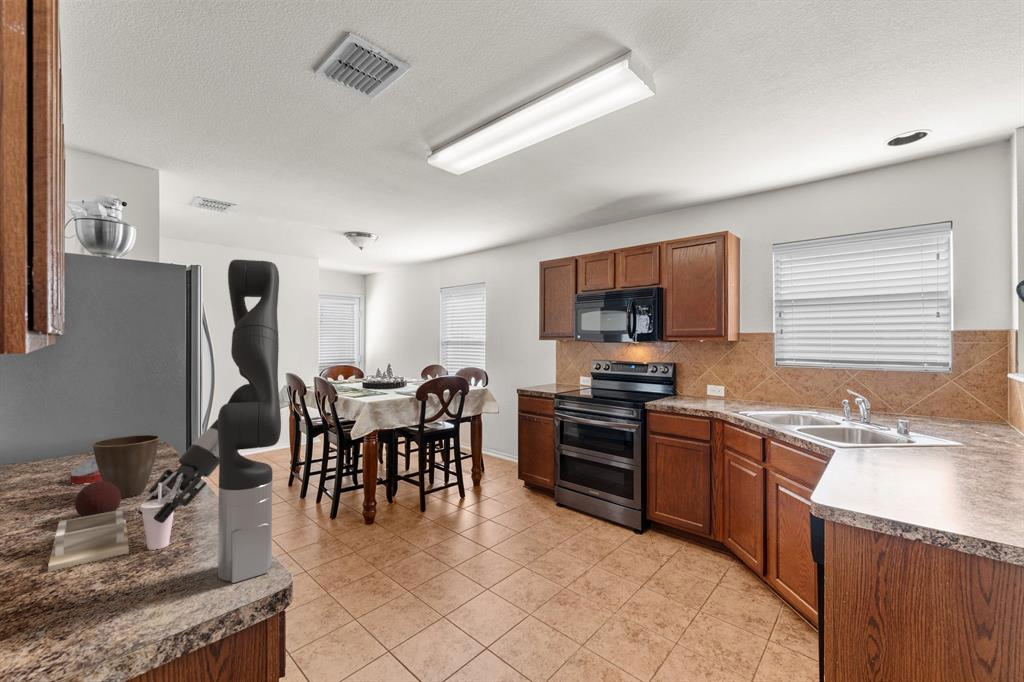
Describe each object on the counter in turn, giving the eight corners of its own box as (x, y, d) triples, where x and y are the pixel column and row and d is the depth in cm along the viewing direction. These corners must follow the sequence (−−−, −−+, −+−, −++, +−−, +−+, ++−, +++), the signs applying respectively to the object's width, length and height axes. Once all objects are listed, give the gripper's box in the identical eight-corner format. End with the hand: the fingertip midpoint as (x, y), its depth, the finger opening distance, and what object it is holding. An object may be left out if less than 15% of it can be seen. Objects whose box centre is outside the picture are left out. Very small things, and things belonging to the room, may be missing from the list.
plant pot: (80, 506, 123) (80, 447, 123) (108, 489, 137) (109, 436, 137) (146, 500, 128) (146, 443, 128) (167, 484, 142) (167, 433, 142)
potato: (72, 530, 108) (73, 491, 108) (76, 515, 117) (76, 479, 117) (120, 520, 113) (121, 484, 113) (120, 507, 122) (121, 473, 122)
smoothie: (146, 555, 95) (147, 489, 95) (134, 548, 98) (134, 484, 98) (181, 544, 100) (182, 481, 101) (168, 537, 104) (169, 476, 104)
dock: (128, 553, 96) (128, 528, 96) (48, 572, 88) (48, 545, 88) (125, 524, 111) (125, 503, 111) (56, 538, 103) (56, 515, 103)
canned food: (107, 494, 146) (109, 470, 143) (65, 497, 140) (66, 472, 137) (115, 470, 154) (117, 447, 151) (75, 472, 149) (76, 448, 146)
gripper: (179, 439, 109) (118, 503, 99) (213, 446, 103) (152, 516, 92) (202, 456, 114) (147, 519, 104) (236, 464, 107) (180, 532, 97)
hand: (149, 517), depth 98 cm, fingers closed on smoothie, 6 cm apart
